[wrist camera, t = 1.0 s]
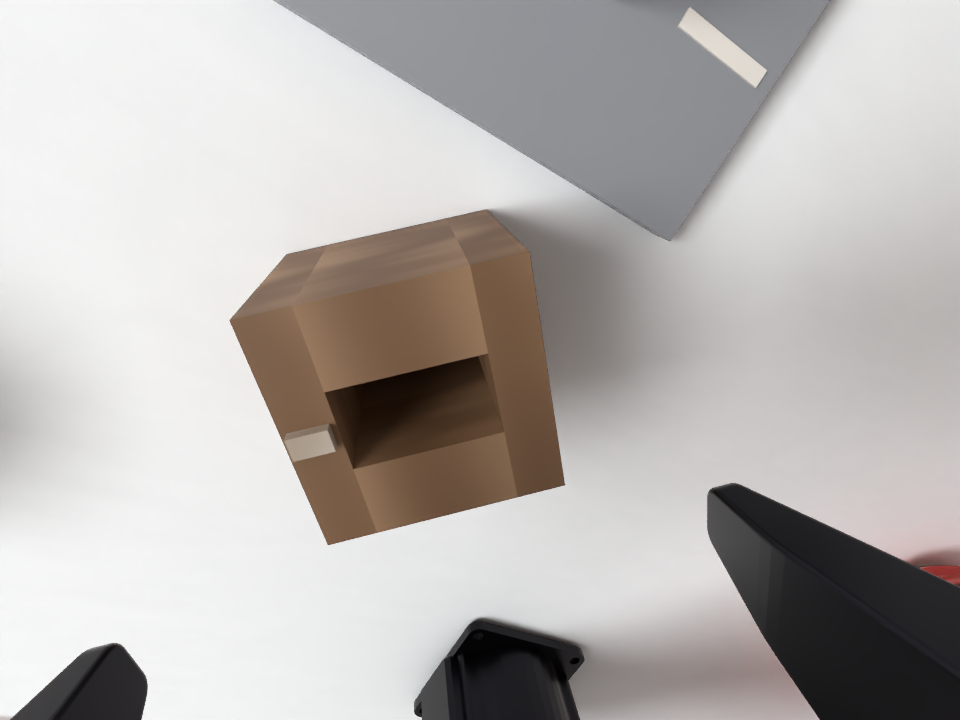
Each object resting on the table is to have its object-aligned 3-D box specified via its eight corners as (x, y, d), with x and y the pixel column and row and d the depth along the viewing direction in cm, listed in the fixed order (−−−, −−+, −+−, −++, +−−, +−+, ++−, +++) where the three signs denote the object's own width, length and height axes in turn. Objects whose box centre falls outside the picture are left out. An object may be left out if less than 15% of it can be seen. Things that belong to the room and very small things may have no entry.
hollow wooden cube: (485, 209, 16) (533, 254, 11) (517, 383, 19) (568, 492, 13) (286, 254, 16) (225, 325, 10) (348, 424, 19) (326, 554, 13)
